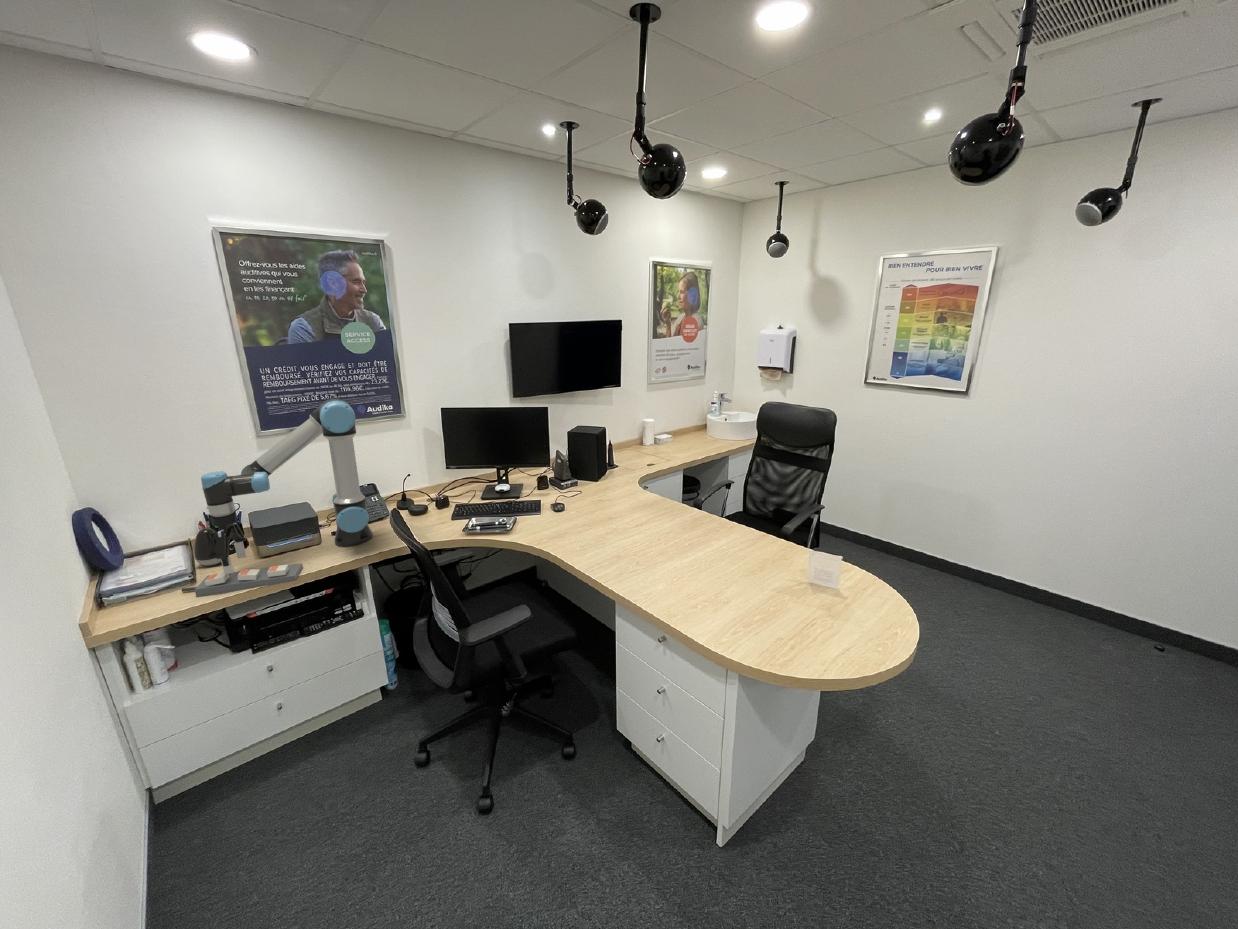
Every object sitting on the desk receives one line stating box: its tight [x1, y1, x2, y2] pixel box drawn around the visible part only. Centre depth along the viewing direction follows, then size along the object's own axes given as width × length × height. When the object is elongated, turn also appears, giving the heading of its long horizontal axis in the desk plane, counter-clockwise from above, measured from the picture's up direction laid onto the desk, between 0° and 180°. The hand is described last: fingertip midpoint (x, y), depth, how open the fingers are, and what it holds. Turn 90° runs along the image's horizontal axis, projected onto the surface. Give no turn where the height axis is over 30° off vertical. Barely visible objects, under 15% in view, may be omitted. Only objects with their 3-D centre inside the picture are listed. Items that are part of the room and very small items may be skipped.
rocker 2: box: [238, 568, 261, 580], centre depth 182 cm, size 6×5×2 cm
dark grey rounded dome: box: [193, 527, 221, 567], centre depth 199 cm, size 10×10×15 cm
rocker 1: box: [205, 572, 230, 586], centre depth 179 cm, size 6×5×2 cm
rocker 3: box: [267, 564, 289, 577], centre depth 185 cm, size 6×5×2 cm
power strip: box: [181, 562, 304, 598], centre depth 184 cm, size 37×11×3 cm, turn 110°
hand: (236, 565), depth 187 cm, fingers open, 13 cm apart
